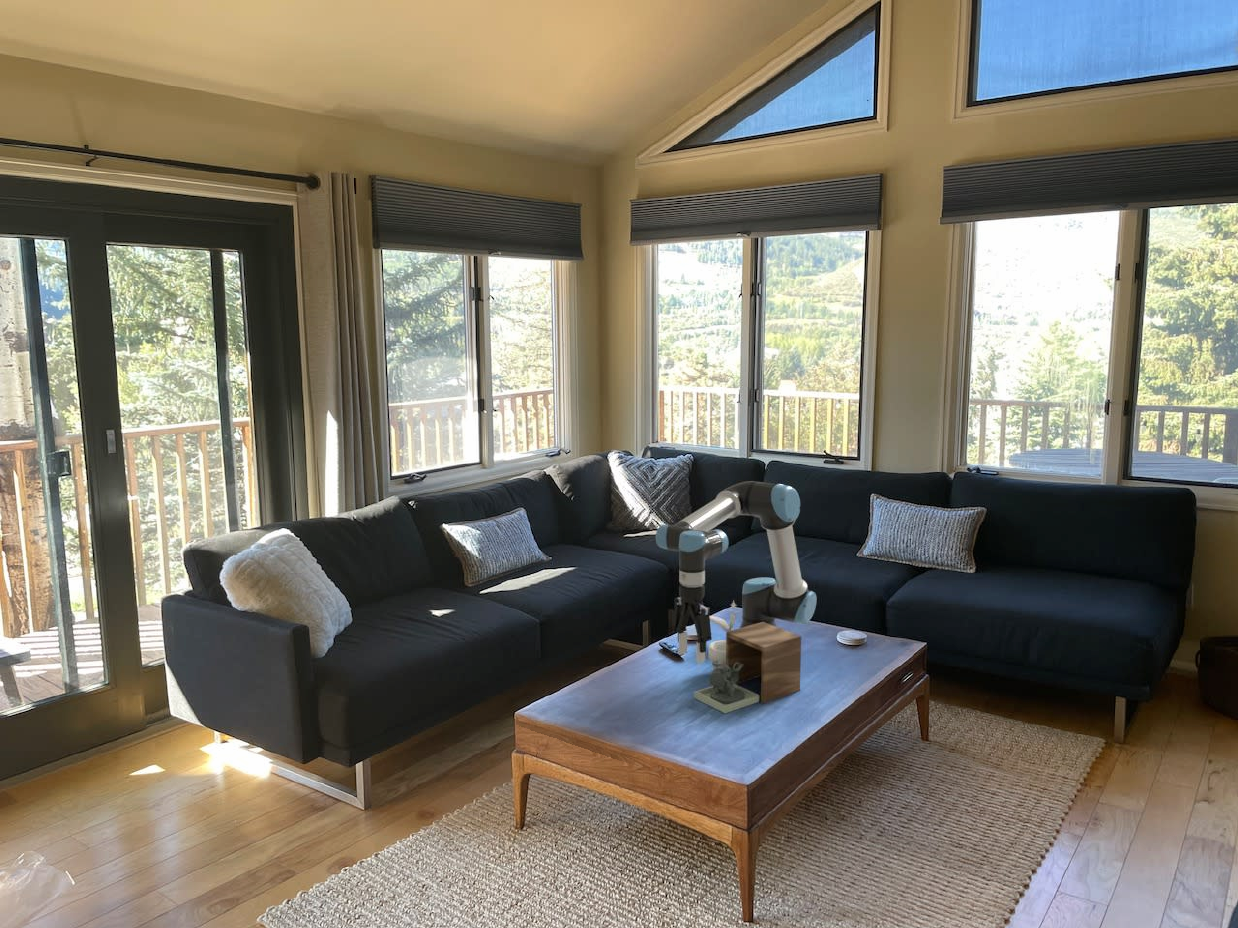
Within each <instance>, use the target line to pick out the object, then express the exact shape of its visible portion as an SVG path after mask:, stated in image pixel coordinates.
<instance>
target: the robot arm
mask: <svg viewBox="0 0 1238 928" xmlns="http://www.w3.org/2000/svg"><path fill="white" fill-rule="evenodd" d="M800 507H801V499H800V496H799V492H797V490H796V489H795V488H793V487H792V486H790V485H785V484H781V483H776V484H775V483H768V482H762V481H754V480H750V481H748V480H747V481H742V482H740V483H735V484H734V485H731V486H729V487H727V488H725V489H723V490H722V491H720V492H719V493H718V494H716V497H715V499H713V500H712V501H710V502H708V503H707V504H705V505H704V506H702V507H700V508H699V509H697V510H696V511H694V512H692V513H691V514H689V515H688V516H685V518H683V519H681V520H680V521H678V522H677V523H675V524H673V525H671V524H661V525H660V526H658V528H657V529H656V533H655V543H656V545H657V546H658V547H659V548H660V549H664V550H666V551H674V552H678V556H679V558H678V560H679V561H678V562H679V566H678V567H679V568H678V569H679V571H678V573H679V576H678V577H679V578H678V581H679V585H678V595H679V597H674V598H673V599H674V600H673V602H674V612H673V618H672V629H673V630H676V633H677V642H678V655H679V656H681V655H685V654H687V653H688V632H687V631H688V629H687V626H688V623H689V619H690V617H691V619H692V620H693V624H694V627H695V631H696V636H697V639H698V640H697V641H696V655H695V656H696V663H697V664H701V663H704V662H706V651H707V642H709V641H712V639H713V638H712V630H711V628H712V627H711V621H710V616H711V615H710V613H711V608H710V607H706V606H704V602H703V599H704V597H705V596H706V594H705V593H706V591H705V589H706V586H705V583H706V561H707V560H709V559H712V558H714V557H717V556H720V555H721V554H724V553H725V552H726V551H727V549H728V547H729V537H728V536H727V534H726V533H725V532H724V531H723V530H721V529H714V528H716V527H717V526H718V525H721V524H722V523H723V522H724V521H726V520H727V519H734V518H736V517H738V516H749V517H750V516H751V517H756V518H759V520H760V526H761V527H762V528H763V529H765V530H766V533H767V539H768V543H769V550H770V554H771V559H772V566H773V571H774V575H775V578H773V577H767V576H766V577H756V578H755V577H754V578H750V579H748V580H746V581H744V583H743V585H742V592H741V595H742V599H741V600H742V602H741V603H742V605H741V606H742V607H741V610H742V611H741V612H742V616H741V617H742V619H741V623H740V626H739V628H743V627H746V626H750V625H753V624H757V623H760V622H765V623H767V624H770V625H773V626H775V627H777V625H776V619H778V620H781V621H785V622H790V623H794V624H803V625H805V624H807V623H809V622H810V620H811V619H812V617H813V616H814V614H815V610H816V606H817V594H816V592H814V591H813V590H809V587H808V583H807V582H806V581H805V580H804V579H802V574H801V568H800V567H801V566H800V562H799V556H798V551H797V545H796V540H795V533H794V527H793V525H794V524H795V522H796V520H797V519H798V517H799V515H800V512H801V508H800Z"/></svg>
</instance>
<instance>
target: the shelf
mask: <svg viewBox="0 0 1238 928" xmlns="http://www.w3.org/2000/svg"><path fill="white" fill-rule="evenodd" d="M725 635H726V636H725V637H726V638H725V640H726V665H727V666H729V667H730V668H732V669H731V670H733V666H734V664H735V663H736V662H739V664H740V663H742V664H743V665H744V666H743V667H742V668H741V669H740V670H739V671H733V672H731V673H738V672H739V674H738V675H739V680H738V682H736V683H735V684H736V685H738V684H740V683H744V682H746V681H750V680H753V679H755V678H759V677H761V679H760V681H761V683H760V687H761V688H760V689H761V690H760V691H761V692H760V703H761V704H765V703H768V702H772V701H774V700H777V699H779V698H782V697H787V696H788V695H791V694H794V693H797V692H800V691H801V662H802V660H801V659H802V658H801V657H802V653H801V651H802V635H799V634H796V633H794V632H792V631H788V630H786V629H784V628H780V627H778V626H776V627H775V626H773V625H770V624H767V623H765V622H760V623H757V624H753V625H750V626H746V627H743V628H740V627H739V628H737V629H736V628H735V629H733V630H732V629H731V631H728V632H726V631H725ZM737 667H738V664H736V665H735V669H736V668H737ZM732 677H733V675H732Z"/></svg>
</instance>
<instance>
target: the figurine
mask: <svg viewBox="0 0 1238 928" xmlns="http://www.w3.org/2000/svg"><path fill="white" fill-rule="evenodd" d="M711 664H712V666H713V665H715V666H719V665H721V664H722V662H721V661H718V660H716V661H713V662H712V661H711ZM736 664H738V667H737V668H736V669H735V665H736ZM743 666H744V665H743V664H742V663H740V664H739V662H736V663H735V664H734V666H733V670H731V669H732V668H730V667H729V666H727V665H725V666H724V667H723V668H722V669H721V668H716V669H714V668H713V669H712V671H711V673H710V674H709V676H708V682H709V684H710V685H711V686H713V687H714V690H712V691H711V692H710V698H712V699H714V700H716V701H718V702H720V703H722V704H731V703H734V702H736V701H739V700H742V699H745V694H744V692H743V691H741V690H739V689H736V688H735V687H734V686H733V684H735V683H736V682H738V680H739V675H738V674H739V672H738V673H731V672H733V671H739V670H740V669H741V668H742V667H743ZM732 675H733V677H732ZM715 688H716V689H715Z"/></svg>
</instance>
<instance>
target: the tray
mask: <svg viewBox="0 0 1238 928" xmlns="http://www.w3.org/2000/svg"><path fill="white" fill-rule="evenodd" d="M733 686H734V687H735V688H736V689H739V690H741V691H743V692H744V694H745V699H742V700H739V701H736V702H734V703H731V704H722V703H720V702H718V701H716V700H714V699H712V698H710V692H711V691H712V690H714V687H713V686H712V685H711V686H707V687H705V688H702V689H699V690H695V691H694V699H696V700H697V701H700V702H702V703H703V704H706V705H707V706H710V707H711V708H713V709H715V710H718V711H720V712H721V713H723V714H727V713H731V712H733V711H737V710H739V709H742V708H745V707H748V706H751V705H753V704H756V703H759V702H760V695H759V694H758V693H755V692H753V691H751V690H749V689H747V688H745V687H742V686H740V685H738V684H733ZM715 689H716V688H715Z"/></svg>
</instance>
